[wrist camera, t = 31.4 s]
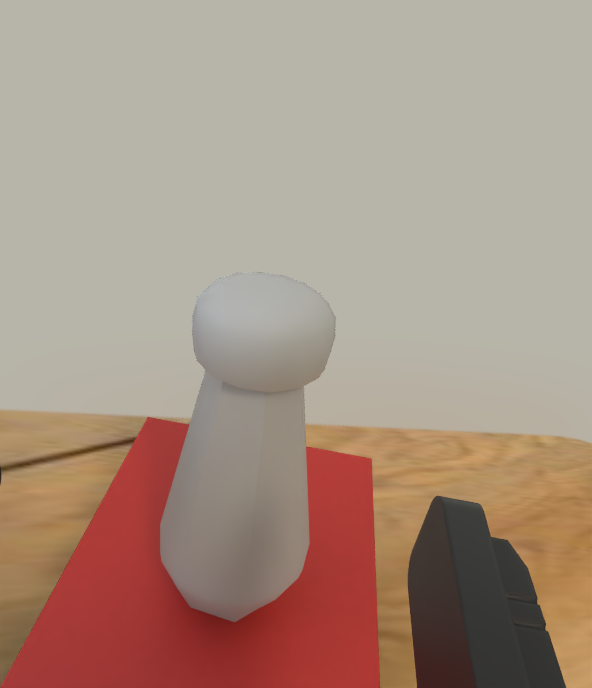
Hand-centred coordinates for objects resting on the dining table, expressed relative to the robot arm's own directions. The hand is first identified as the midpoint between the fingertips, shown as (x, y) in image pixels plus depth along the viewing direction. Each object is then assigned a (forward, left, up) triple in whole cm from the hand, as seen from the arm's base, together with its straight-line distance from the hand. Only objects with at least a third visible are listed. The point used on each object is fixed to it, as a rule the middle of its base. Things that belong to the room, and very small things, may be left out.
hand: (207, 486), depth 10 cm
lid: (0, +8, -13) cm, 15 cm away
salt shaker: (0, +7, -12) cm, 14 cm away
